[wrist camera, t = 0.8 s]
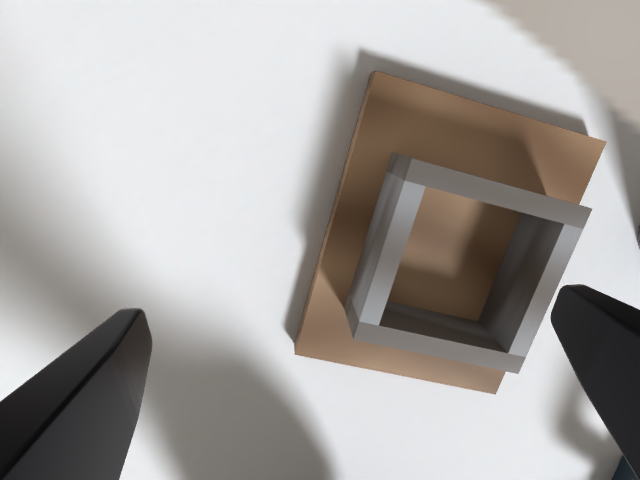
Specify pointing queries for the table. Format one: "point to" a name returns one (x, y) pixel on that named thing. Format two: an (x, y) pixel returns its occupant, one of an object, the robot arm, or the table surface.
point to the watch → (624, 471)
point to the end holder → (445, 237)
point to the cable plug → (639, 237)
